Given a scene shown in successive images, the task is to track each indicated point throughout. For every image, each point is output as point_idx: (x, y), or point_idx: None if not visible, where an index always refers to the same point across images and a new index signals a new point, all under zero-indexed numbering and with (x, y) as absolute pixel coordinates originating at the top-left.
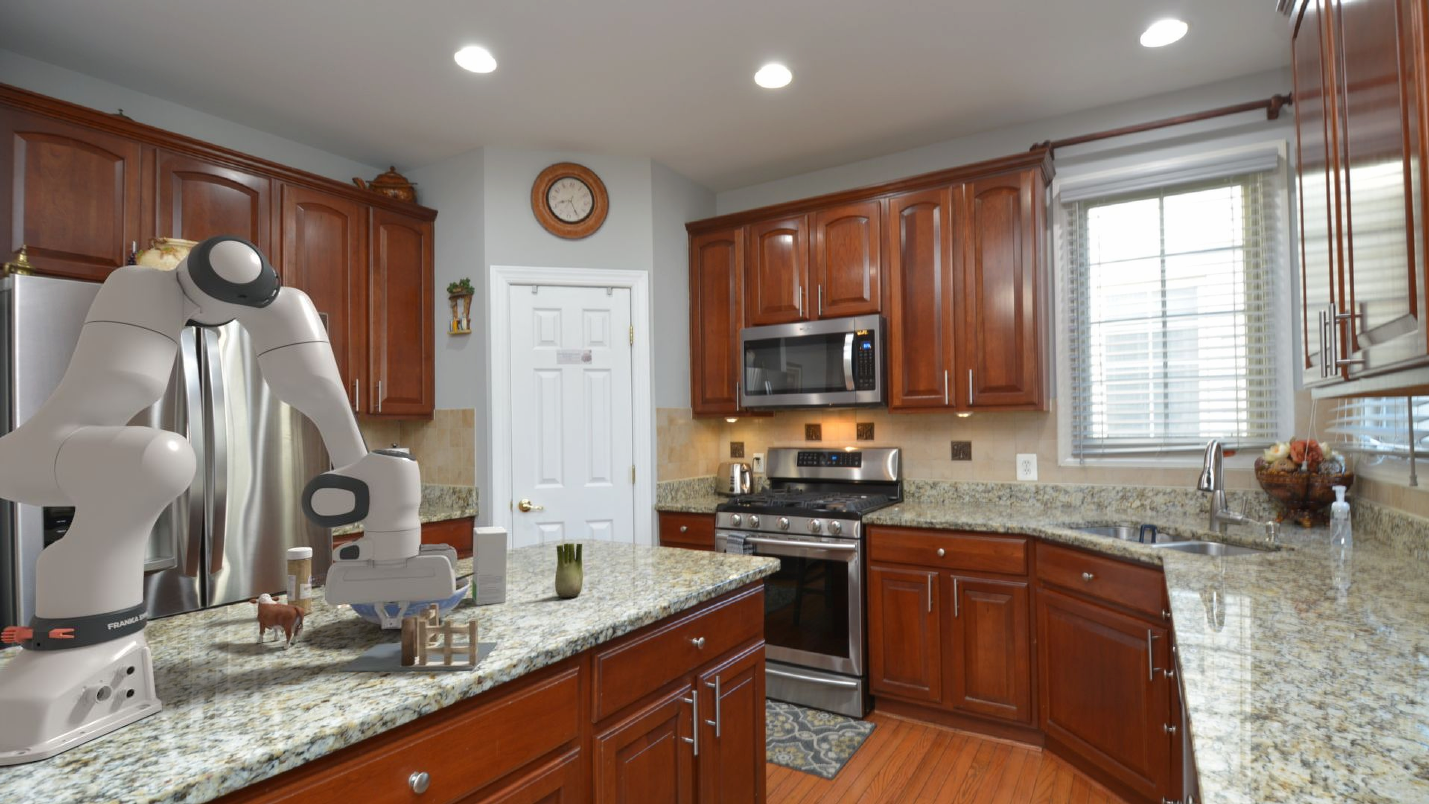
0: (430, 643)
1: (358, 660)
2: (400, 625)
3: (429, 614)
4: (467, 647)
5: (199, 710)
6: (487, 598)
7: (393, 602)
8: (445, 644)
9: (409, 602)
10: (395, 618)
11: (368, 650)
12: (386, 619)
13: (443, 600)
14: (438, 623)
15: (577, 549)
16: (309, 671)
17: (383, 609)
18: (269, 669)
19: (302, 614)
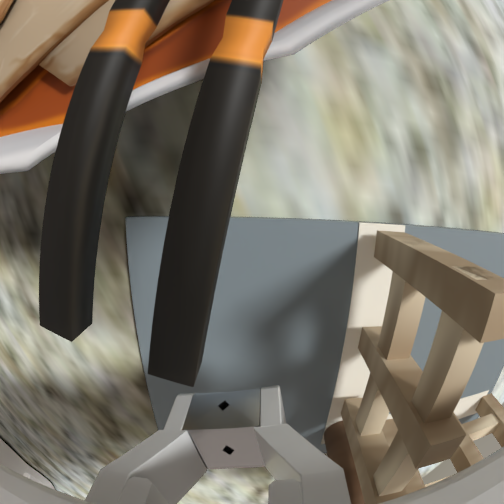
0: (368, 235)
1: (167, 398)
2: (285, 422)
3: (452, 414)
4: (490, 432)
5: (86, 495)
6: None
7: (91, 307)
8: (452, 457)
9: (346, 484)
10: (263, 466)
11: (136, 304)
12: (210, 464)
13: None
14: (445, 251)
15: None
16: (94, 421)
17: (154, 473)
18: (16, 383)
19: None
